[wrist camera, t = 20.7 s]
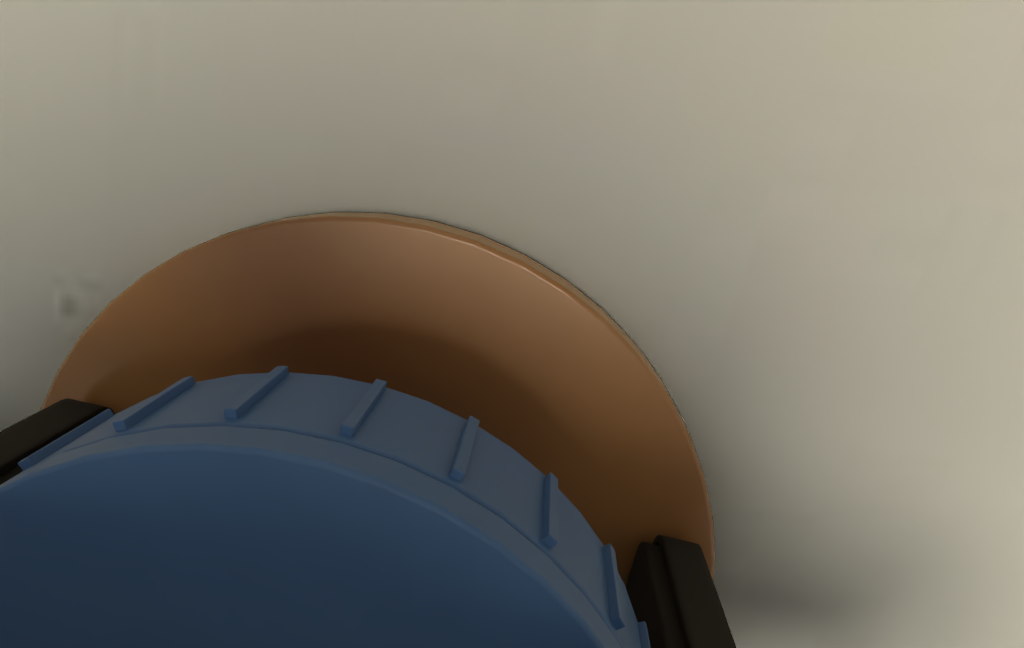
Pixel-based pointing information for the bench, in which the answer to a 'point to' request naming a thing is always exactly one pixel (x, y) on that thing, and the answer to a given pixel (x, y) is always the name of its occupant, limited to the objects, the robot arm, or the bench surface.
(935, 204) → the bench surface
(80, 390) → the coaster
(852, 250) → the bench surface
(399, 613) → the lid
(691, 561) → the robot arm
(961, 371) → the bench surface
